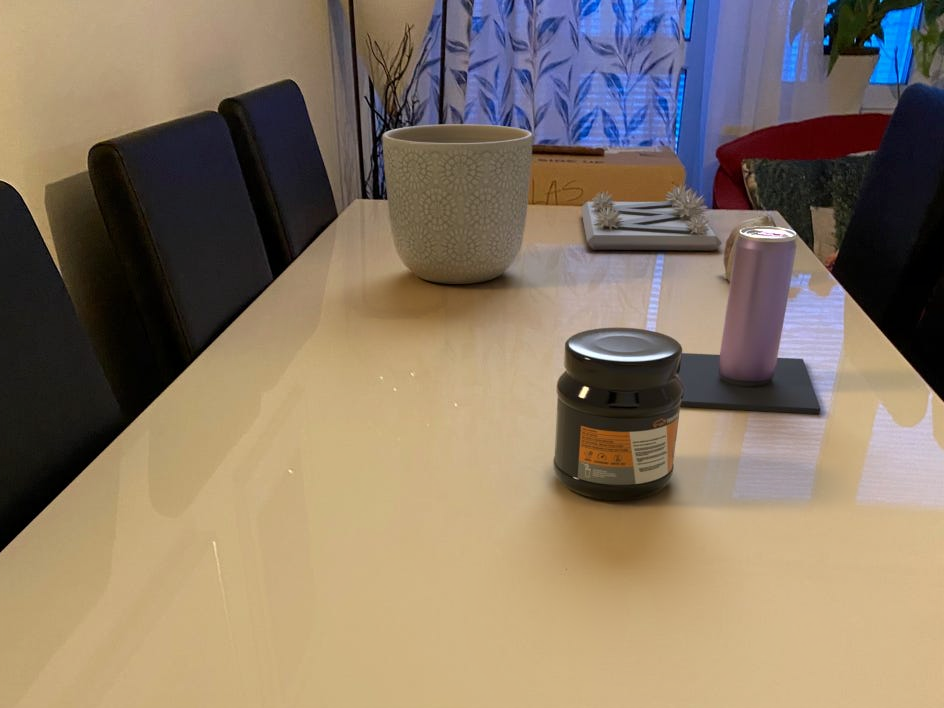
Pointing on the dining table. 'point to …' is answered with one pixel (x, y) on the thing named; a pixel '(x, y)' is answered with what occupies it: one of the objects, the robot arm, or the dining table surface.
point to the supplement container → (618, 413)
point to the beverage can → (756, 305)
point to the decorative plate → (649, 224)
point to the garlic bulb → (761, 221)
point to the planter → (457, 198)
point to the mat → (779, 395)
